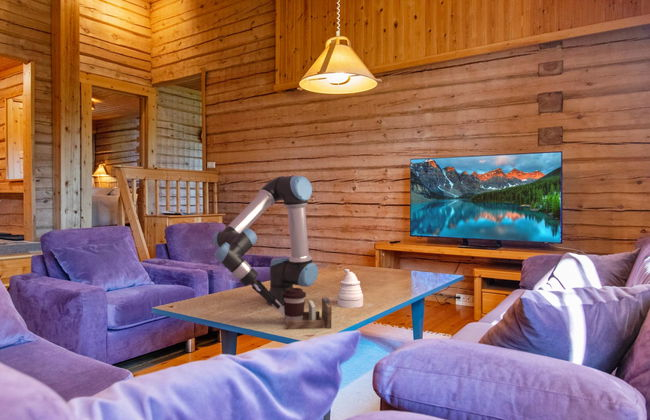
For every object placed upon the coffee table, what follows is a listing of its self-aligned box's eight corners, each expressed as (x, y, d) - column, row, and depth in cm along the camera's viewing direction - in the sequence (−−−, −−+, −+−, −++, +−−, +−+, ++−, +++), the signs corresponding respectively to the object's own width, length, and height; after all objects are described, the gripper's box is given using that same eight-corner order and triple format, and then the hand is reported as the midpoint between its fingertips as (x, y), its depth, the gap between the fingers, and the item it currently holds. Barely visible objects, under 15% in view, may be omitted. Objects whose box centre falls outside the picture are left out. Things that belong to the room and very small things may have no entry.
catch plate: (311, 325, 194) (312, 306, 193) (308, 318, 206) (308, 300, 205) (315, 325, 194) (315, 306, 194) (312, 318, 206) (312, 300, 206)
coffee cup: (307, 321, 202) (307, 287, 202) (303, 327, 192) (303, 292, 192) (285, 320, 204) (285, 286, 203) (279, 326, 194) (280, 291, 193)
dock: (287, 329, 190) (287, 304, 189) (284, 318, 206) (284, 295, 206) (332, 328, 192) (332, 303, 192) (326, 317, 209) (326, 295, 209)
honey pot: (340, 308, 227) (340, 271, 226) (335, 302, 239) (335, 267, 239) (365, 307, 229) (366, 271, 229) (359, 301, 242) (359, 267, 241)
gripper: (239, 277, 201) (277, 314, 204) (238, 282, 188) (278, 322, 191) (252, 265, 201) (289, 302, 204) (251, 269, 188) (291, 309, 191)
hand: (284, 312), depth 197 cm, fingers closed
